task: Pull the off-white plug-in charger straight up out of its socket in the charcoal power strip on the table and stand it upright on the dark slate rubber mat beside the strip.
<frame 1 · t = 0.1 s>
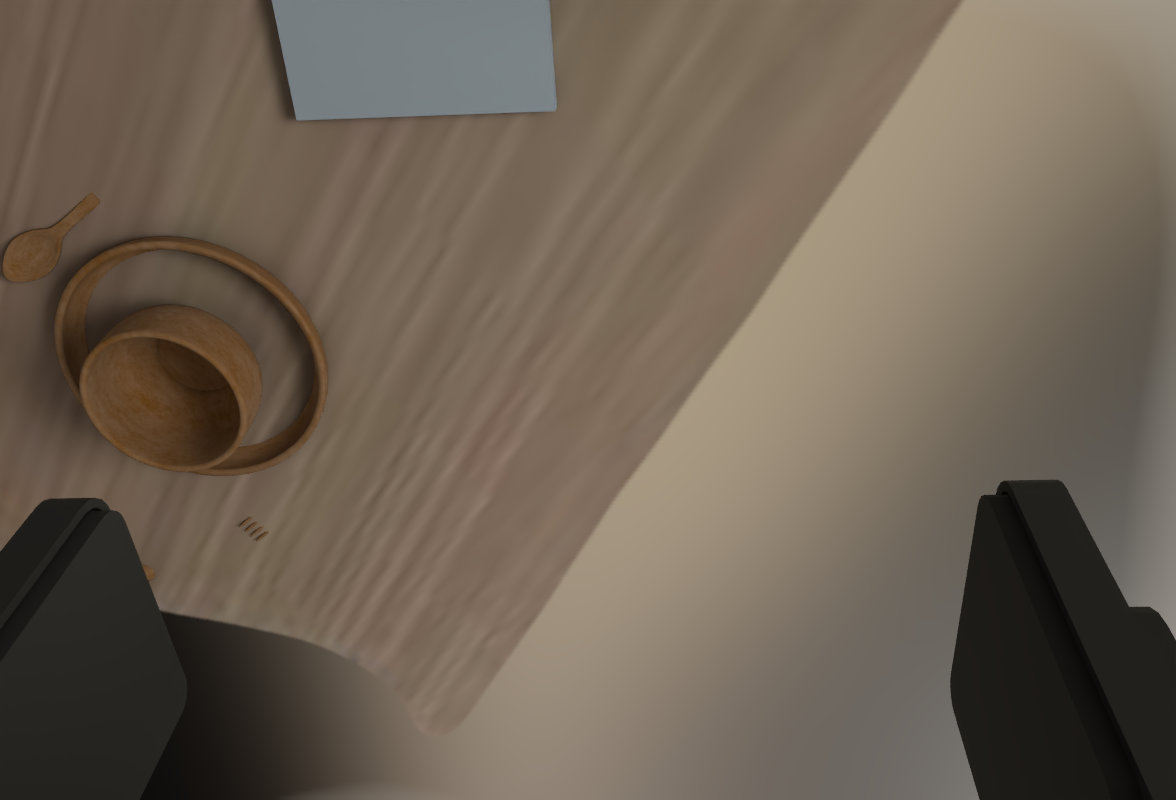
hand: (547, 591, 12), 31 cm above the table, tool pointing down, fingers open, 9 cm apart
place setting: (154, 392, 50), on the table
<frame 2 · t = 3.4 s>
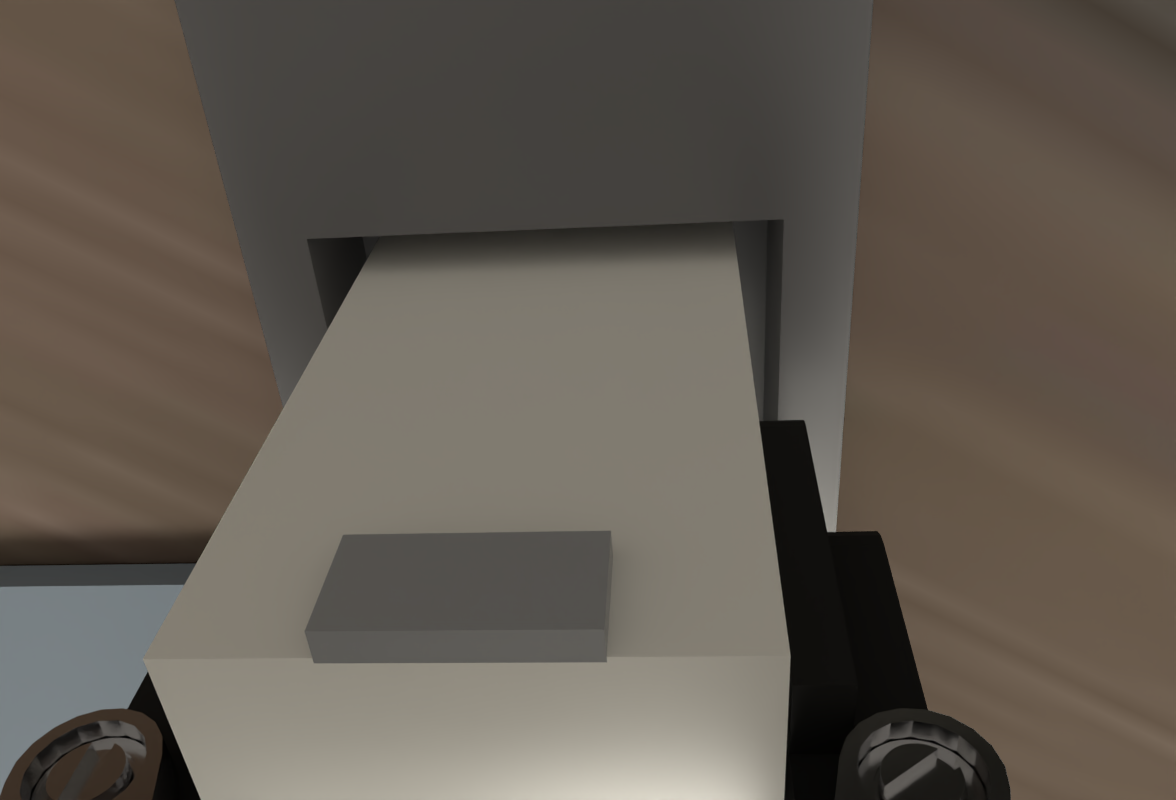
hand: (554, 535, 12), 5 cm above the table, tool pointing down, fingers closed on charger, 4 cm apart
mat: (163, 738, 23), on the table
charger: (575, 385, 15), point 2 cm above the table, touching gripper, power strip
power strip: (603, 558, 20), on the table
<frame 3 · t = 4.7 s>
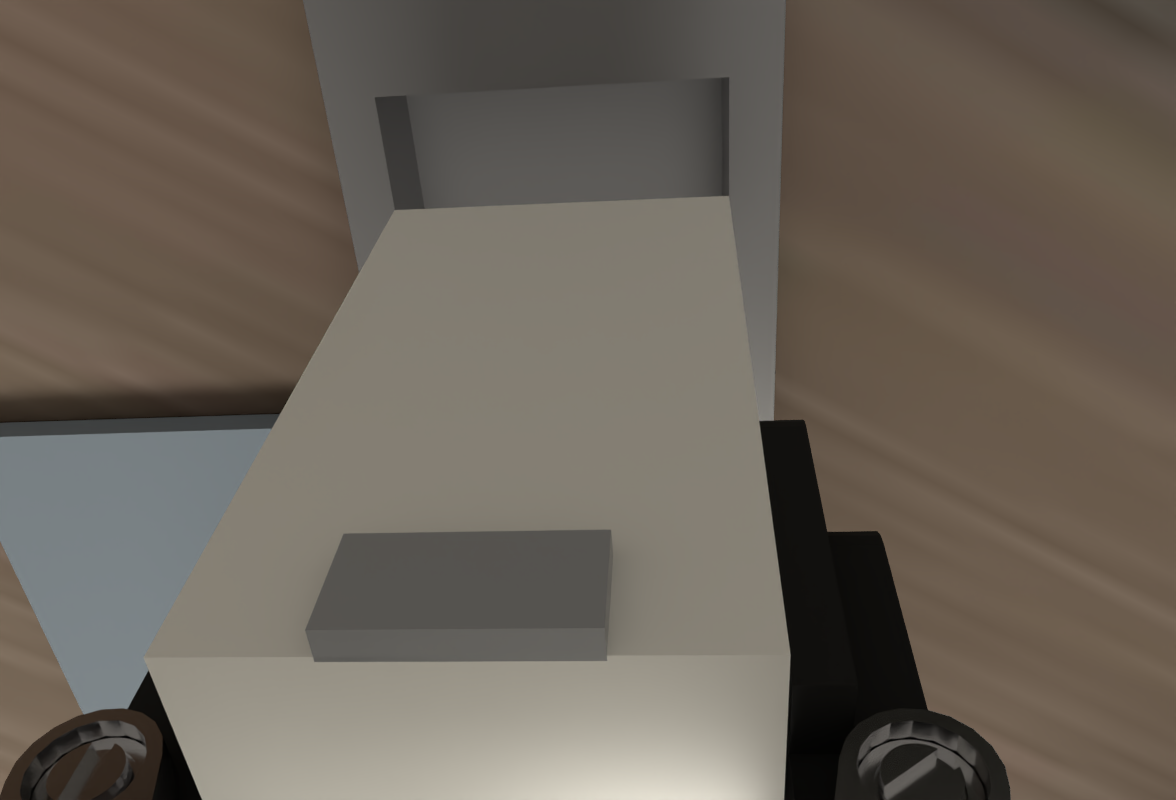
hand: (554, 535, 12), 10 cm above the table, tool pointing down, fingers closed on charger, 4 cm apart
mat: (223, 578, 27), on the table
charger: (575, 385, 15), point 7 cm above the table, touching gripper
power strip: (597, 403, 24), on the table
when the fingers open (5 cm above the table, at t = 10.4 s): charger drops 1 cm, resting on mat.
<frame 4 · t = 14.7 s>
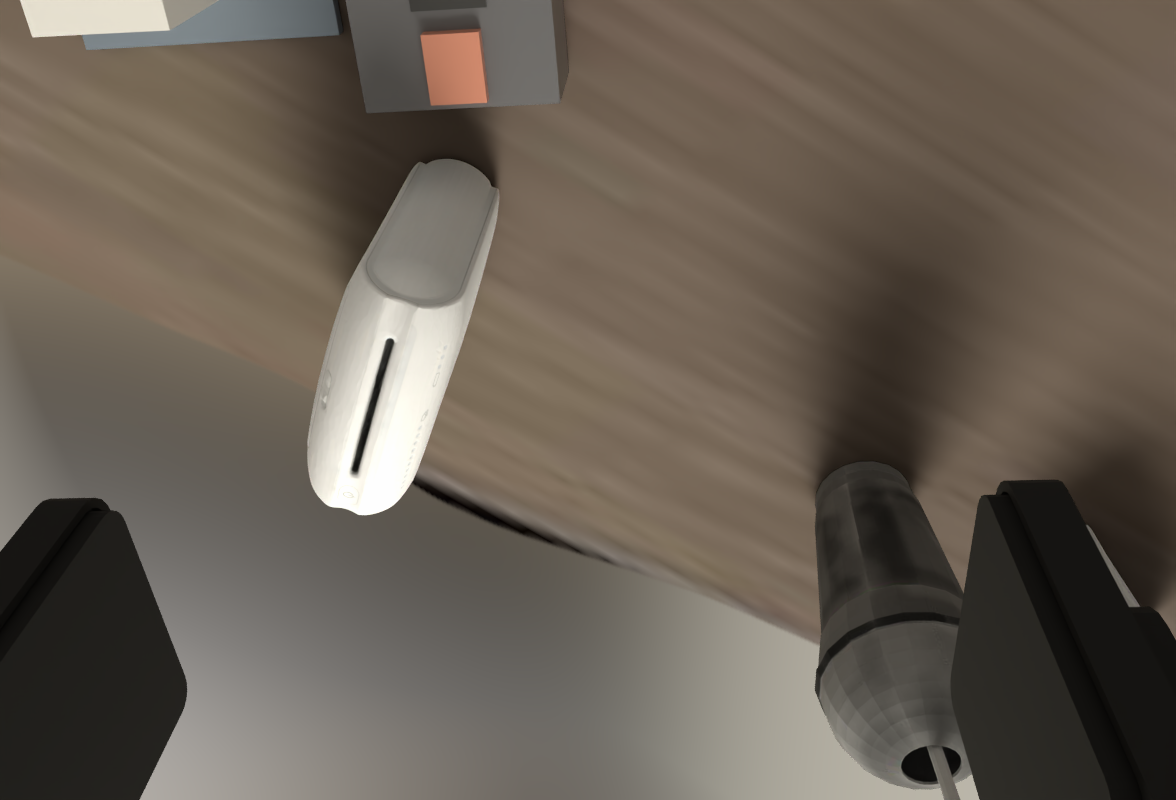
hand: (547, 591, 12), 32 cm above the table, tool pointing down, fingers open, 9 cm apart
beverage cup: (861, 496, 51), on the table
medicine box: (1076, 586, 53), on the table
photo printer: (434, 265, 46), on the table
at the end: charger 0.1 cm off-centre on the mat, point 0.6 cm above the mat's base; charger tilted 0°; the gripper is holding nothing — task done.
